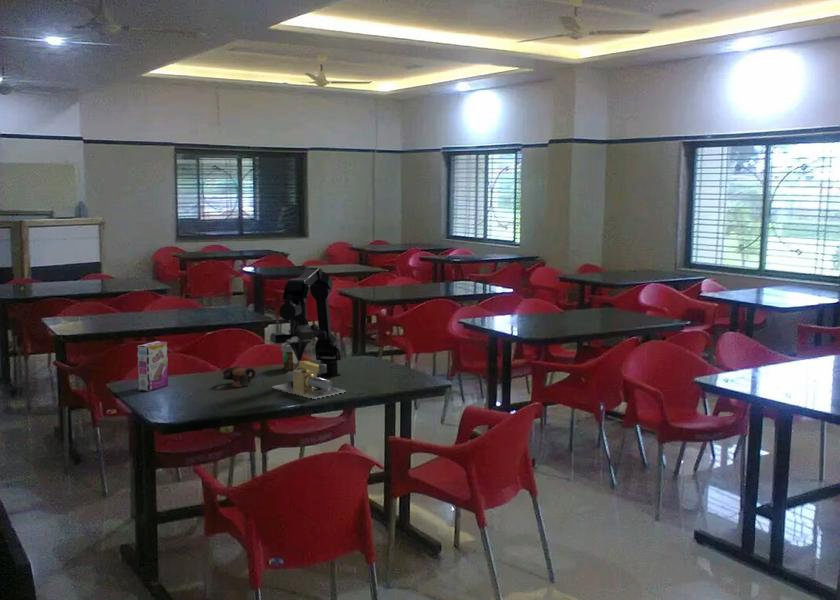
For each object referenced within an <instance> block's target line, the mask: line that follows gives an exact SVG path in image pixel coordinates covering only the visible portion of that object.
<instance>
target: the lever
mask: <svg viewBox="0 0 840 600" xmlns="http://www.w3.org/2000/svg"><path fill="white" fill-rule="evenodd" d="M299 366H300V367H299V369H301V368H303V369H307V370H311V371H314V372H317V374H319V373H327V370H326V364H320V363H319V364H318V363H314V362H311V361H309V360H301V361H300V362H299Z"/></svg>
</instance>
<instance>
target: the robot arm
mask: <svg viewBox="0 0 840 600" xmlns="http://www.w3.org/2000/svg"><path fill="white" fill-rule="evenodd" d="M333 283H334V282H333V280H332V277H331V276H330V275H329V274H328V273H326V272H324V270H323V269H322V268H320V267H309V268H308V267H307V268H306V271H305V272H303V273H302V274H301V275H300V276H298V277H295V278H290V279H288V280H287V281H286V283H285V286H284V290H283V295H282V301H284V303H283V304H281V306H280V308H279V311H278V312H279V316H280V317H281V318H282V320H285V321H288V322H289V329H288V334H286V333H284V332H282V331H281V332H272V333H271V334H270V337H269V341H270V342H271V343H274V344H284V343H289V344H290V346H291V347H292V349H293V351H294V354H295V356H296V358H297V360H298V361H302V358H303V355H304V352H305V349H306V347H307V345H308V344H309V343H312V340H313V339H314V338H316V339H317V340H316V343H315V344H314V345H315V347H314V350H315V351H314V352H315V359H316V361H320V362H319V364H326V370H327V373H317V376H320V377H324V378H332V377H336V375H337V376H340V375H341V373H340V372H338V370H339V369H338V361H341V360H342V353H341V349H340V347H339V345H338V342H337V341H338V340H337V338H336V337H335V336H334V335H333V333H332V325H331V315H330V303H329V297H330V295H331V293H332V291H333ZM309 294H310V295H311V296H312V298H313V299H314V300H315V305H316V317H317V324H309V319H308V318H307V301H308V297H309ZM331 376H332V377H331Z"/></svg>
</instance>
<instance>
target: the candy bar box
mask: <svg viewBox="0 0 840 600" xmlns="http://www.w3.org/2000/svg"><path fill="white" fill-rule="evenodd" d="M136 348H137V350H136V351H137V379H138V380H137V381H138V391H142V392H151V390H152V391H155V390H158V389H161V388H164V387H166V385H167V386H168V385H169V369H168V368H169V367H168V365H169V363H168V362H169V361H168V360H169V359H168V342H167V341H152V342H149V343H144V344H140V345H137V347H136ZM163 386H164V387H163ZM160 387H161V388H160ZM157 388H158V389H157ZM154 389H155V390H154Z"/></svg>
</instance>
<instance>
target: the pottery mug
mask: <svg viewBox="0 0 840 600" xmlns="http://www.w3.org/2000/svg"><path fill="white" fill-rule="evenodd" d="M250 373H252V374H251V376H249V375H250ZM222 374H223V376H222V380H224V381H225V380H226V381H227V380H228V381H229V380H230V381H233V384H234V388H236V387H239V388H242V387H249V386H250V385H249V384H250V383H251V381H253V379H255V377H256V376H257V371H256V369H255V368H253V367H249V368H243V366H242V365H237V366H236V365H235V366H233V367H230V368H227V369H226V370H224V371H223V372H222ZM248 385H249V386H248Z"/></svg>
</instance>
